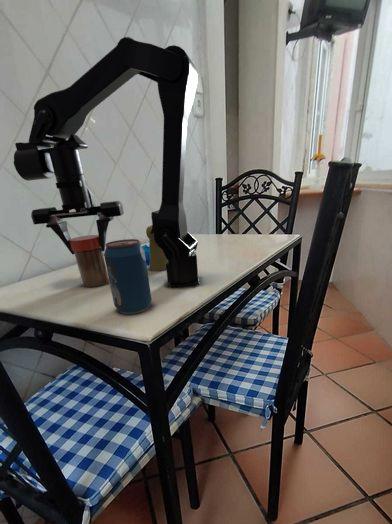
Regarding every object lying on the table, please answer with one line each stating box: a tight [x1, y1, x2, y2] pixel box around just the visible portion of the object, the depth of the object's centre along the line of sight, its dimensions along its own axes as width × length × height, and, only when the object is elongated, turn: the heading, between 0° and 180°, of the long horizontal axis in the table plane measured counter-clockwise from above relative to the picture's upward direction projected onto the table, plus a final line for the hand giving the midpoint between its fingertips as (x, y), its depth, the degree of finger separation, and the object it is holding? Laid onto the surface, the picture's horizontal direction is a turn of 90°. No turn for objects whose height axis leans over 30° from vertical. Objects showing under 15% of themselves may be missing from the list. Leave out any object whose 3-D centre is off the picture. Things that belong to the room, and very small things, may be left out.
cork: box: [145, 224, 168, 272], centre depth 83 cm, size 6×6×11 cm
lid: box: [69, 234, 101, 251], centre depth 71 cm, size 7×7×2 cm
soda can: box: [103, 238, 152, 315], centre depth 56 cm, size 7×7×12 cm
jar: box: [73, 247, 110, 288], centre depth 74 cm, size 6×6×10 cm
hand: (88, 252), depth 73 cm, fingers closed on lid, 6 cm apart
